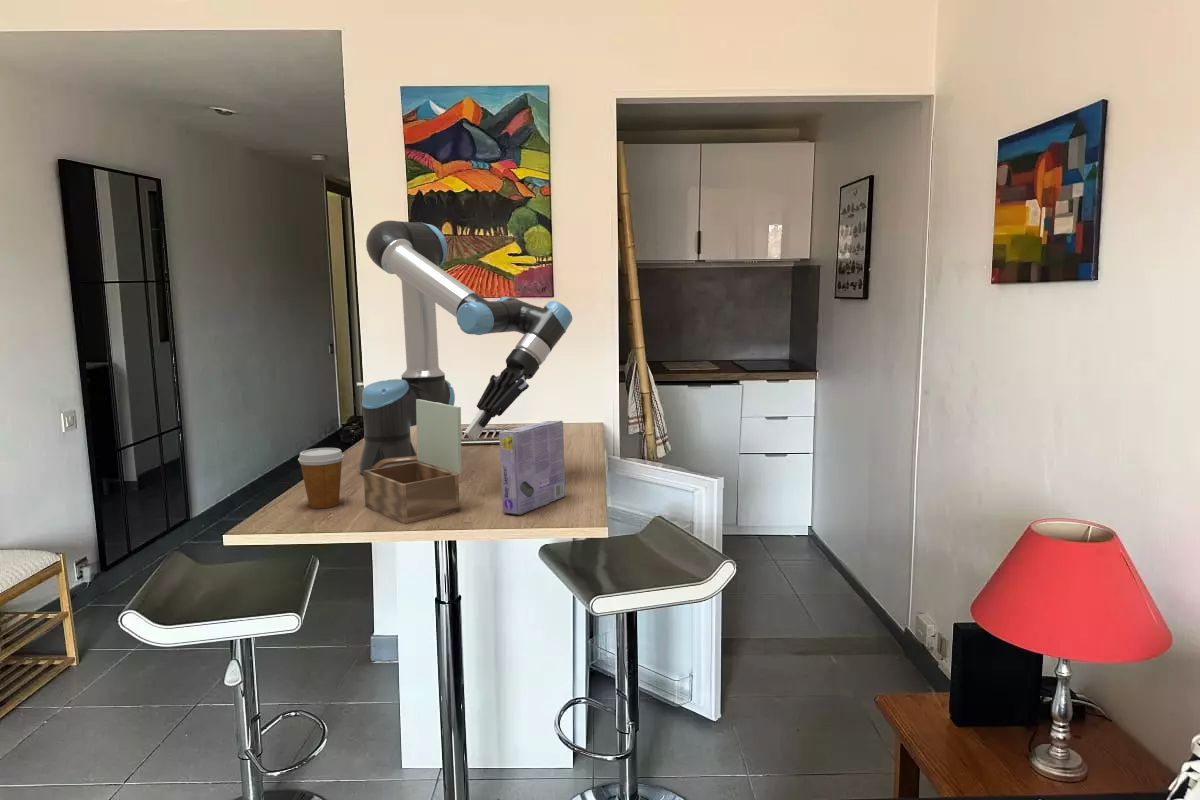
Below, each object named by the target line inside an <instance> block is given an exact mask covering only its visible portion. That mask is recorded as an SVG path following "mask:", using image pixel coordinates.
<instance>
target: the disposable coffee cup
mask: <svg viewBox="0 0 1200 800" xmlns="http://www.w3.org/2000/svg"><path fill="white" fill-rule="evenodd" d="M344 456H345V455H344V454H343V452H342V450H341V449H340V448H337V447H319V448H318V447H317V448H310V449H306V450H303V451H301V452H299V457H298V459H297V461H298V462H299V464H300V468H301V472H302V478H303V482H304V487H305V491H306V493H305V494H306V497H307V498H306V499H307V502H308V507H310V508H311V509H312V508H313V509H327V508H332V507H336V506H338V505H339V504H340V494H341V493H340V491H341V478H342V477H341V476H342V462H343V458H344Z"/></svg>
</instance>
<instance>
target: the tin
mask: <svg viewBox="0 0 1200 800" xmlns="http://www.w3.org/2000/svg"><path fill="white" fill-rule="evenodd" d="M412 462H420V463H423V464H426V465H429V466H433V467H435V466H434V465H430V464H427V463H424V462H421V461H418V460H417V456H410V457H399V458H388V459H383V460H381V461H379V462H378V463H376V464H375V465H374V467H373V468H372V469H377V468H383V467H389V466H395V465H400V464H406V463H412Z"/></svg>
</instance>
